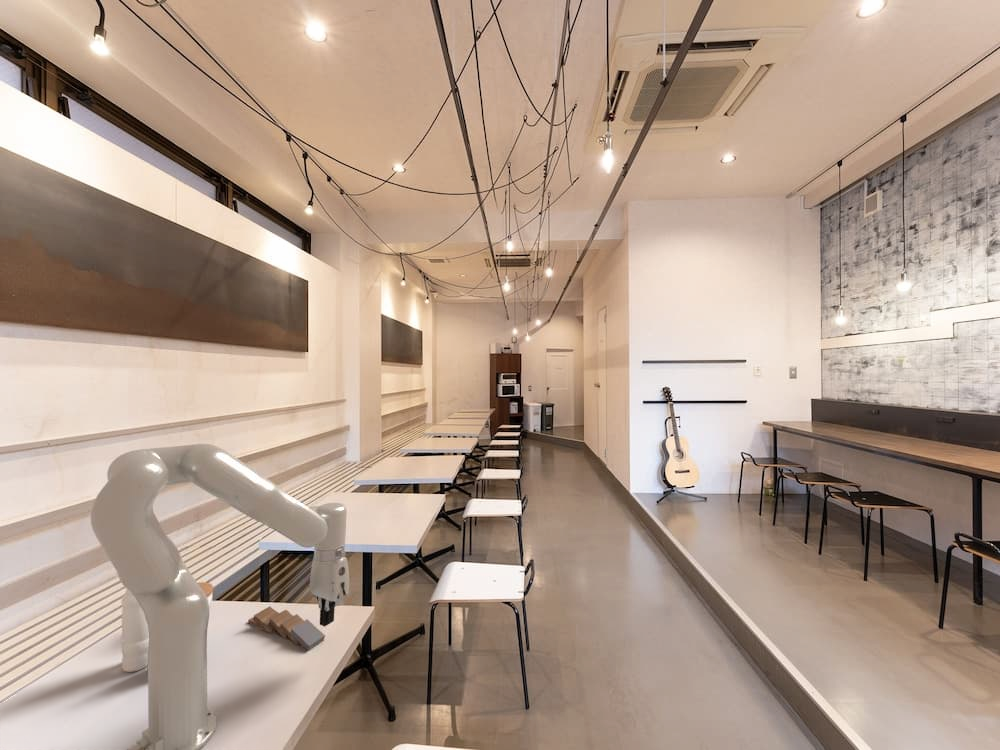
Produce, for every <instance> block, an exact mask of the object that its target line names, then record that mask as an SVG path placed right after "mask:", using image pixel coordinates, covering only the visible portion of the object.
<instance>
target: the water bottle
mask: <svg viewBox="0 0 1000 750" xmlns="http://www.w3.org/2000/svg"><path fill="white" fill-rule="evenodd" d="M121 605H122V610H121V636H122V644H121V653H122V657H121V659H122V660H121V669H122V671H123V672H128V673H132V672H137V671H140V670H143V669H145V668H148V646H149V631H148V624H147V621H146V618H145V615H144V612H143V610H142V608H141V606H140V605H139V603H138V602H137V600H136V599H135V597H134V596H133V594H132V593H131V591H130V590H128V589H127V588H126V590H125V593H124V594H123V596H122V598H121Z"/></svg>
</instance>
